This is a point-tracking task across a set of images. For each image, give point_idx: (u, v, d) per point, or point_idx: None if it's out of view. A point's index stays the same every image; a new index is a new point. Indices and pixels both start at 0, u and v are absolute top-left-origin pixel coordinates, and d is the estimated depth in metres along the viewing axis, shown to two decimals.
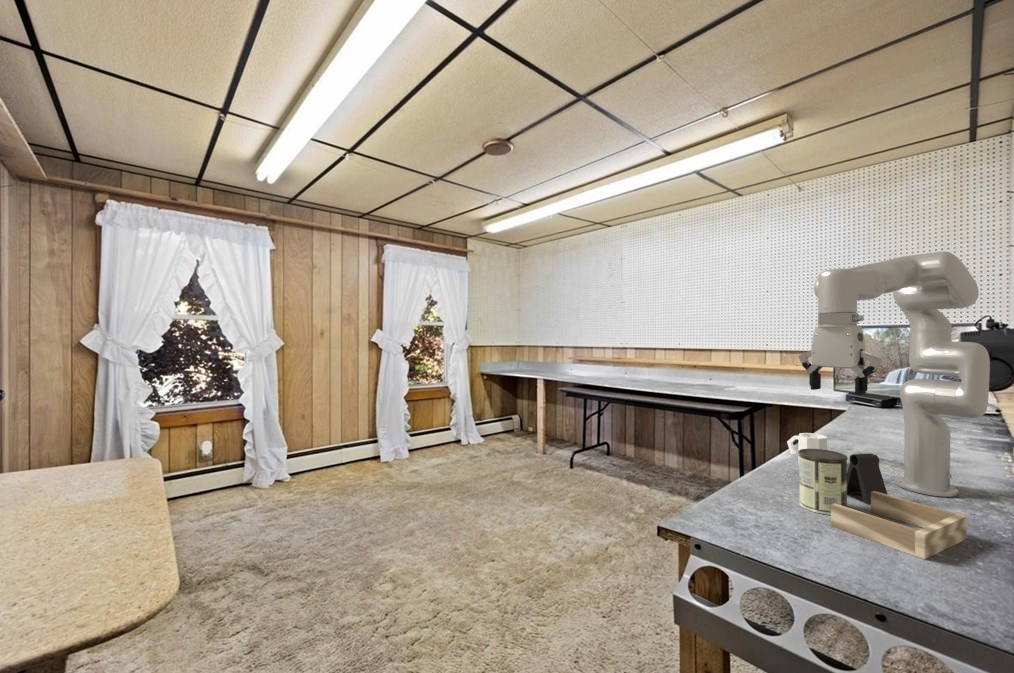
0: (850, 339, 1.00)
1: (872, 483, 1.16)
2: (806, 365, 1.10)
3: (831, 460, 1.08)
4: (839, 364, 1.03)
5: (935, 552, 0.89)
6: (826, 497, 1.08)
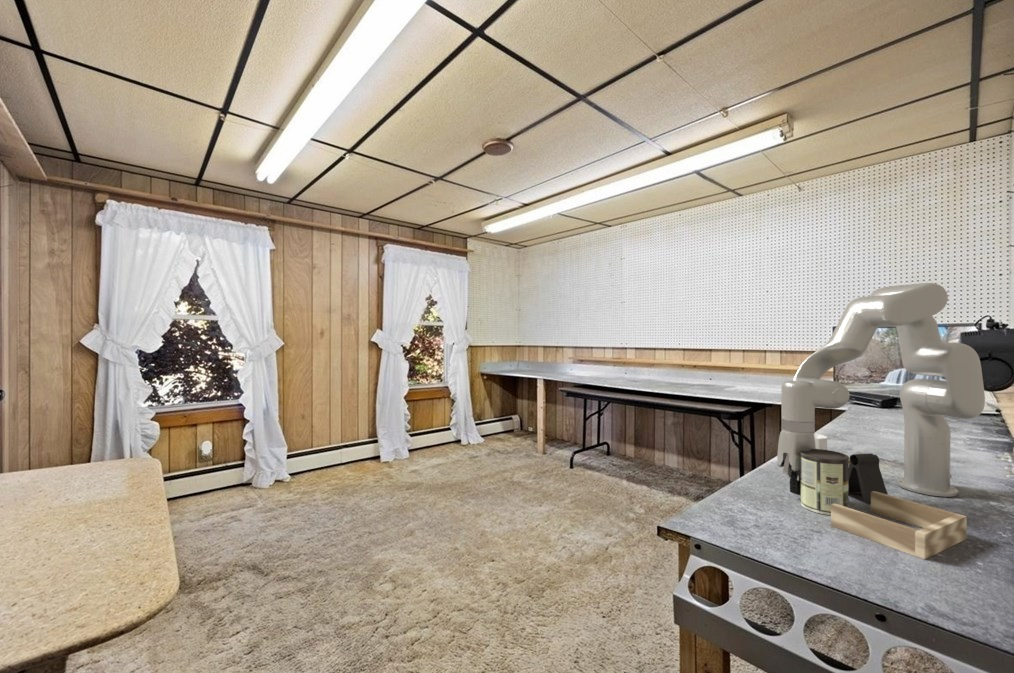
0: (814, 442, 1.18)
1: (872, 483, 1.16)
2: (795, 472, 1.17)
3: (833, 460, 1.08)
4: None
5: (935, 552, 0.89)
6: (828, 497, 1.08)
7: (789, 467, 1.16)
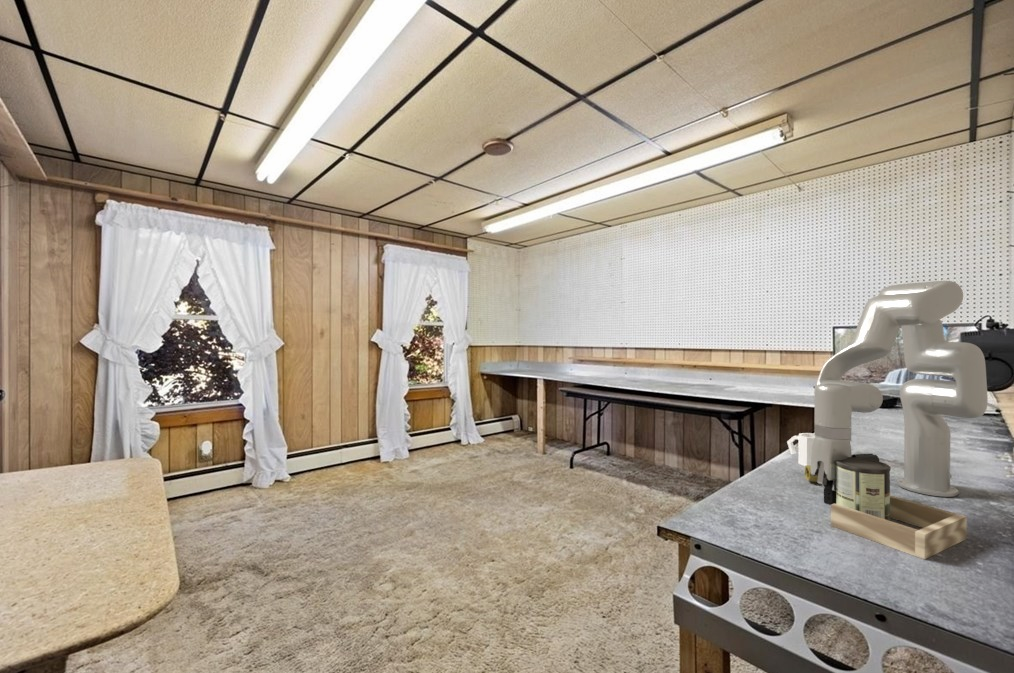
0: (850, 449, 1.10)
1: None
2: (830, 482, 1.09)
3: (874, 470, 1.00)
4: None
5: (935, 552, 0.89)
6: (868, 510, 1.00)
7: (824, 476, 1.08)
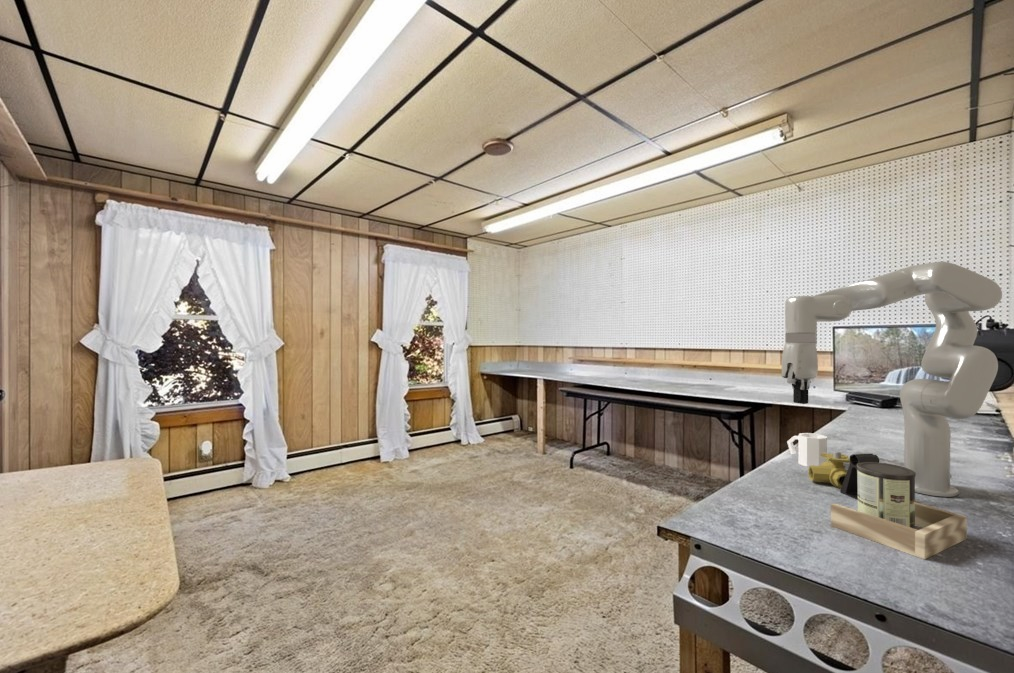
0: (816, 354, 1.25)
1: None
2: (798, 381, 1.23)
3: (898, 476, 0.96)
4: (811, 375, 1.24)
5: (935, 552, 0.89)
6: (893, 518, 0.96)
7: (793, 376, 1.23)
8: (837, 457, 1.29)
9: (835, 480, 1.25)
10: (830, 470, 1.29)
